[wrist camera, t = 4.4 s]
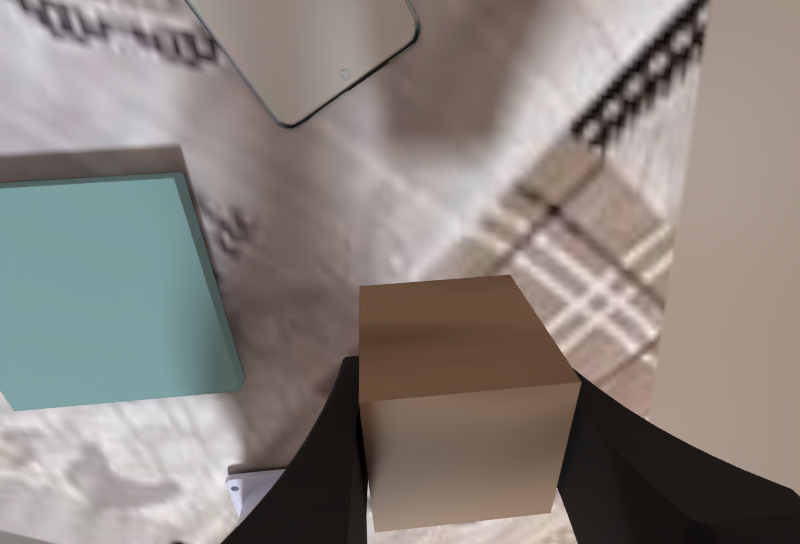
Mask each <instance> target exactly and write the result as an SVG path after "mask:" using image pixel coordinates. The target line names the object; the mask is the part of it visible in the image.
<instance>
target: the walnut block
mask: <svg viewBox="0 0 800 544" xmlns="http://www.w3.org/2000/svg"><path fill="white" fill-rule="evenodd" d="M580 386H581V381H580V379H579V378H578V376H577V375H576V373H575V372H574V370H573V369H572V367H571V366H570V364H569V363H568V361H567V360H566V358H565V357H564V355H563V354H562V352H561V351H560V349H559V348H558V346H557V345H556V343H555V342H554V340H553V339H552V337H551V336H550V334H549V333H548V331H547V330H546V328H545V327H544V325H543V324H542V322H541V321H540V319H539V318H538V316H537V315H536V313H535V312H534V310H533V309H532V307H531V306H530V304H529V303H528V301H527V300H526V298H525V297H524V295H523V294H522V292H521V291H520V289H519V288H518V286H517V285H516V283H515V282H514V280H513V279H512V277H511V276H510V275H500V276H487V277H474V278H462V279H449V280H436V281H423V282H410V283H397V284H384V285H371V286H360V314H359V407H360V416H361V424H362V432H363V440H364V448H365V456H366V464H367V472H368V480H369V489H370V497H371V505H372V513H373V521H374V529H375V532H383V531H392V530H401V529H410V528H419V527H429V526H438V525H447V524H456V523H465V522H474V521H483V520H492V519H501V518H510V517H519V516H528V515H537V514H546V513H551V509H552V505H553V500H554V496H555V492H556V488H557V484H558V479H559V475H560V471H561V467H562V462H563V458H564V454H565V450H566V445H567V441H568V437H569V433H570V429H571V424H572V420H573V416H574V412H575V407H576V403H577V399H578V395H579V391H580Z"/></svg>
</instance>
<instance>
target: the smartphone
mask: <svg viewBox="0 0 800 544" xmlns="http://www.w3.org/2000/svg"><path fill="white" fill-rule="evenodd" d="M185 1H186V3H187V4H188V5H189V7H190V8H191V9H192V11H193V12H194V13H195V15H196V16H197V17H198V19H199V20H200V21H201V23H202V24H203V25H204V27H205V28H206V29H207V31H208V32H209V33H210V35H211V36H212V37H213V39H214V40H215V41H216V43H217V44H218V45H219V47H220V48H221V49H222V51H223V52H224V53H225V55H226V56H227V57H228V59H229V60H230V61H231V63H232V64H233V65H234V67H235V68H236V69H237V71H238V72H239V73H240V75H241V76H242V77H243V79H244V80H245V82H246V83H247V84H248V86H249V87H250V88H251V90H252V91H253V92H254V94H255V95H256V96H257V98H258V99H259V100H260V102H261V103H262V104H263V106H264V107H265V108H266V110H267V111H268V112H269V114H270V115H271V116H272V118H273V119H274V120H275V122H276V123H277V124H278V125H280V126H281V127H283V128H286V129H294V128H297V127H299V126H300V125H302V124H303V123H304V122H306V121H307V120H309V119H310V118H311V117H313V116H314V115H316V114H317V113H318V112H320V111H321V110H323V109H324V108H325V107H327V106H328V105H330V104H331V103H332V102H334V101H335V100H337V99H338V98H340V97H341V96H342V95H344V94H345V93H347V92H348V91H349V90H351V89H352V88H354V87H355V86H356V85H358V84H359V83H361V82H362V81H363V80H365V79H366V78H368V77H369V76H370V75H372V74H373V73H375V72H376V71H377V70H379V69H380V68H382V67H383V66H384V65H386V64H387V63H389V62H390V61H392V60H393V59H394V58H396V57H397V56H399V55H400V54H401V53H403V52H404V51H406V50H407V49H408V48H410V47H411V46H412V45H414V44H415V42H416V41H417V39H418V37H419V34H420V24H419V20H418V18H417V16H416V14H415V12H414V10H413V8H412V6H411V4H410V2H409V0H185Z"/></svg>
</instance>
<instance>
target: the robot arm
mask: <svg viewBox="0 0 800 544" xmlns="http://www.w3.org/2000/svg"><path fill="white" fill-rule="evenodd" d="M572 369H573V368H572ZM573 370H574V369H573ZM574 372H575V373H576V375H577V376H578V378H579V379H580V381H581V386H580V391H579V395H578V399H577V403H576V407H575V412H574V416H573V420H572V424H571V429H570V433H569V437H568V441H567V445H566V450H565V454H564V458H563V462H562V467H561V471H560V475H559V479H558V484H557V488H558V491H559V493H560V495H561V498H562V501H563V503H564V506H565V509H566V512H567V514H568V517H569V520H570V522H571V525H572V528H573V531H574V534H575V537H576V540H577V542H578V544H800V496H799V495H798V494H796V493H795V492H794V491H793V490H792V489H790V488H787V487H785V486H782V485H780V484H777V483H775V482H772V481H770V480H767V479H765V478H762V477H760V476H757V475H755V474H753V473H750V472H747V471H745V470H742V469H740V468H738V467H736V466H734V465H731V464H729V463H727V462H725V461H723V460H720V459H718V458H716V457H714V456H712V455H709V454H708V453H706V452H704V451H701V450H699V449H697V448H695V447H693V446H691V445H689V444H688V443H686V442H684V441H682V440H680V439H678V438H676V437H674V436H672V435H671V434H669V433H667V432H665V431H663V430H662V429H660V428H658V427H656V426H655V425H653V424H651V423H650V422H648V421H647V420H645V419H643V418H642V417H640V416H638V415H637V414H635V413H634V412H632V411H630V410H629V409H627V408H626V407H624V406H623V405H621V404H620V403H618V402H617V401H616V400H614V399H613V398H611V397H610V396H609V395H607V394H606V393H604V392H603V391H602V390H600V389H599V388H598V387H596V386H595V385H594V384H592V383H591V382H590V381H588V380H587V379H586V378H584V377H583V376H582V375H581V374H579V373H578V372H577V371H576V370H574ZM226 486H227V489H228V491H229V494H230V496H231V499H232V501H233V504H234V506H235V509H236V511H237V514H238V516H239V520H238V524H237V527H236V528H235V529H234V530H233V531H232V532H231V533H230V534H229V535H228V536H227V537H226V539H225V540H224V541H223V542H222V543H221V544H367V521H366V512H367V489H368V472H367V464H366V456H365V448H364V440H363V432H362V424H361V416H360V407H359V356H351V357H345V358H344V359H343V361H342V364H341V368H340V371H339V374H338V376H337V379H336V381H335V384H334V386H333V389H332V391H331V393H330V395H329V397H328V399H327V401H326V404H325V406H324V408H323V410H322V412H321V413H320V415H319V417H318V419H317V421H316V423H315V424H314V426H313V428H312V430H311V432H310V433H309V435H308V437H307V438H306V440H305V441H304V443H303V445H302V446H301V448H300V449H299V451H298V452H297V454H296V455H295V457H294V458H293V460H292V461H291V462H290V464H289V465H288V466H287V468H286V469H280V470H270V471H260V472H250V473H240V474H232V475H229V476H228V477H227V479H226Z"/></svg>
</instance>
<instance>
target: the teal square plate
mask: <svg viewBox="0 0 800 544" xmlns="http://www.w3.org/2000/svg"><path fill="white" fill-rule="evenodd" d="M244 379H245V377H244V373H243V370H242V367H241V363H240V360H239V357H238V353H237V350H236V347H235V343H234V340H233V337H232V333H231V330H230V327H229V323H228V320H227V317H226V313H225V310H224V307H223V303H222V300H221V297H220V293H219V290H218V287H217V283H216V280H215V277H214V273H213V270H212V267H211V263H210V260H209V257H208V253H207V250H206V247H205V243H204V240H203V237H202V233H201V230H200V227H199V223H198V220H197V217H196V213H195V210H194V207H193V203H192V200H191V197H190V193H189V190H188V187H187V183H186V180H185V177H184V173H183V172H170V173H154V174H137V175H120V176H104V177H87V178H71V179H54V180H37V181H21V182H4V183H0V391H1V393H2V394H3V395H4V397H5V398H6V400H7V401H8V403H9V404H10V405H11V407H12V408H13V410H14V411H22V410H34V409H45V408H56V407H67V406H78V405H89V404H100V403H112V402H123V401H134V400H145V399H156V398H167V397H178V396H190V395H201V394H212V393H223V392H234V391H241V388H242V385H243V382H244Z"/></svg>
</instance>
